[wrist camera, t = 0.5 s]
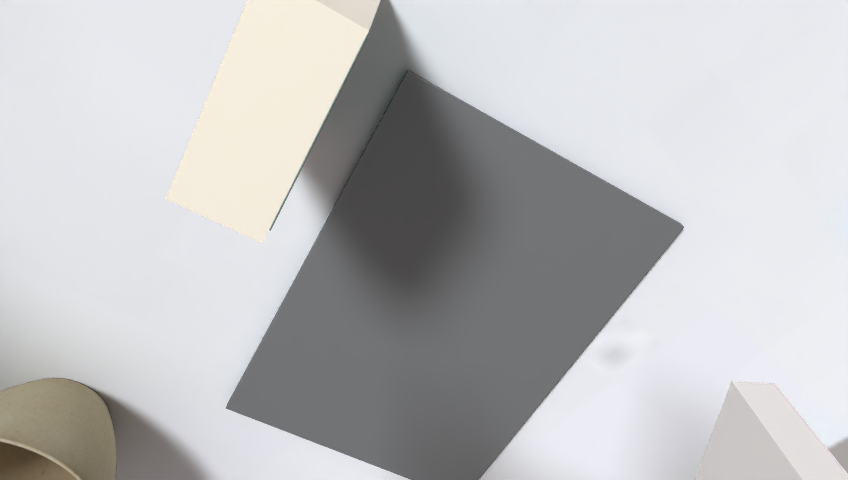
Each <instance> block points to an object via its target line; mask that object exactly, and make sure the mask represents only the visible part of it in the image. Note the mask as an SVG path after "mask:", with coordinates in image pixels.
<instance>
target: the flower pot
mask: <svg viewBox="0 0 848 480" xmlns="http://www.w3.org/2000/svg"><path fill="white" fill-rule="evenodd" d="M0 480H116V441H115V434H114V428H113V424H112V420H111V416H110V413H109V410H108V408H107V406H106V404H105V402H104V401H103V400H102V399H101V397H100V396H99V395H98V394H97V393H95V392H94V391H93V390H92V389H90V388H88V387H87V386H85V385H83V384H81V383H78V382H75V381H72V380H68V379H63V378H47V379H41V380H37V381H32V382H28V383H25V384H21V385H18V386H14V387H12V388H9V389H6V390H3V391H1V392H0Z"/></svg>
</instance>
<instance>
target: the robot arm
mask: <svg viewBox="0 0 848 480" xmlns="http://www.w3.org/2000/svg"><path fill="white" fill-rule="evenodd" d="M695 480H848V474H847V473H846V471H845V470H844V469H843V468H842V466H841V465H840V464H839V463H838V462H837V460H836V459H835V458H834V457H833V456H832V454H831V453H830V452H829V450H828V449H827V448H826V447H825V445H824V444H823V443H822V442H821V440H820V439H819V438H818V437H817V435H816V434H815V433H814V432H813V430H812V429H811V428H810V427H809V425H808V424H807V423H806V422H805V421H804V419H803V418H802V417H801V416H800V414H799V413H798V412H797V411H796V409H795V408H794V407H793V406H792V404H791V403H790V402H789V401H788V399H787V398H786V397H785V396H784V394H783V393H782V392H781V391H780V390H779V388H778V387H777V386H776V385H775V384H772V383H753V382H734V381H732V382H731V385H730V388H729V390H728V393H727V395H726V398H725V401H724V403H723V406H722V409H721V411H720V414H719V417H718V419H717V422H716V424H715V427H714V430H713V432H712V435H711V438H710V440H709V443H708V445H707V448H706V451H705V453H704V456H703V459H702V461H701V464H700V466H699V469H698V472H697V474H696V477H695Z"/></svg>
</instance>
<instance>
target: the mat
mask: <svg viewBox="0 0 848 480" xmlns="http://www.w3.org/2000/svg"><path fill="white" fill-rule="evenodd" d="M683 228H684V226H683V225H682V224H681V223H679V222H677V221H675V220H673V219H672V218H670V217H668V216H666V215H665V214H663V213H661V212H659V211H657V210H656V209H654V208H652V207H650V206H649V205H647V204H645V203H643V202H641V201H640V200H638V199H636V198H634V197H633V196H631V195H629V194H627V193H625V192H624V191H622V190H620V189H618V188H617V187H615V186H613V185H611V184H609V183H608V182H606V181H604V180H602V179H601V178H599V177H597V176H595V175H593V174H592V173H590V172H588V171H586V170H585V169H583V168H581V167H579V166H577V165H576V164H574V163H572V162H570V161H569V160H567V159H565V158H563V157H561V156H560V155H558V154H556V153H554V152H553V151H551V150H549V149H547V148H545V147H544V146H542V145H540V144H538V143H536V142H535V141H533V140H531V139H529V138H528V137H526V136H524V135H522V134H520V133H519V132H517V131H515V130H513V129H512V128H510V127H508V126H506V125H504V124H503V123H501V122H499V121H497V120H496V119H494V118H492V117H490V116H488V115H487V114H485V113H483V112H481V111H480V110H478V109H476V108H474V107H472V106H471V105H469V104H467V103H465V102H464V101H462V100H460V99H458V98H456V97H455V96H453V95H451V94H449V93H448V92H446V91H444V90H442V89H440V88H439V87H437V86H435V85H433V84H432V83H430V82H428V81H426V80H424V79H423V78H421V77H419V76H417V75H416V74H414V73H412V72H410V71H407V73H406V74H405V76H404V78H403V80H402V82H401V84H400V85H399V87H398V89H397V91H396V93H395V95H394V97H393V98H392V100H391V102H390V104H389V106H388V108H387V110H386V111H385V113H384V115H383V117H382V119H381V121H380V122H379V124H378V126H377V128H376V130H375V132H374V134H373V135H372V137H371V139H370V141H369V143H368V145H367V147H366V148H365V150H364V152H363V154H362V156H361V158H360V159H359V161H358V163H357V165H356V167H355V169H354V171H353V172H352V174H351V176H350V178H349V180H348V182H347V184H346V185H345V187H344V189H343V191H342V193H341V195H340V197H339V198H338V200H337V202H336V204H335V206H334V208H333V209H332V211H331V213H330V215H329V217H328V219H327V221H326V222H325V224H324V226H323V228H322V230H321V232H320V234H319V235H318V237H317V239H316V241H315V243H314V245H313V246H312V248H311V250H310V252H309V254H308V256H307V258H306V259H305V261H304V263H303V265H302V267H301V269H300V271H299V272H298V274H297V276H296V278H295V280H294V282H293V283H292V285H291V287H290V289H289V291H288V293H287V295H286V296H285V298H284V300H283V302H282V304H281V306H280V308H279V309H278V311H277V313H276V315H275V317H274V319H273V320H272V322H271V324H270V326H269V328H268V330H267V332H266V333H265V335H264V337H263V339H262V341H261V343H260V345H259V346H258V348H257V350H256V352H255V354H254V356H253V357H252V359H251V361H250V363H249V365H248V367H247V369H246V370H245V372H244V374H243V376H242V378H241V380H240V382H239V383H238V385H237V387H236V389H235V391H234V393H233V394H232V396H231V398H230V400H229V402H228V404H227V406H226V409H229V410H232V411H234V412H237V413H239V414H242V415H245V416H247V417H250V418H252V419H255V420H258V421H260V422H263V423H265V424H268V425H271V426H273V427H276V428H278V429H281V430H284V431H286V432H289V433H291V434H294V435H297V436H299V437H302V438H304V439H307V440H310V441H312V442H315V443H317V444H320V445H323V446H325V447H328V448H330V449H333V450H336V451H338V452H341V453H343V454H346V455H349V456H351V457H354V458H356V459H359V460H362V461H364V462H367V463H369V464H372V465H375V466H377V467H380V468H382V469H385V470H388V471H390V472H393V473H395V474H398V475H401V476H403V477H406V478H408V479H411V480H478V479H479V478H480V477H481V475H482V474H483V473H484V472H485V471H486V469H487V468H488V467H489V466H490V464H491V463H492V462H493V461H494V459H495V458H496V457H497V456H498V455H499V453H500V452H501V451H502V450H503V448H504V447H505V446H506V445H507V444H508V442H509V441H510V440H511V439H512V437H513V436H514V435H515V434H516V433H517V431H518V430H519V429H520V428H521V426H522V425H523V424H524V423H525V421H526V420H527V419H528V418H529V417H530V415H531V414H532V413H533V412H534V410H535V409H536V408H537V407H538V406H539V404H540V403H541V402H542V401H543V399H544V398H545V397H546V396H547V395H548V393H549V392H550V391H551V390H552V388H553V387H554V386H555V385H556V383H557V382H558V381H559V380H560V379H561V377H562V376H563V375H564V374H565V372H566V371H567V370H568V369H569V368H570V366H571V365H572V364H573V363H574V361H575V360H576V359H577V358H578V357H579V355H580V354H581V353H582V352H583V350H584V349H585V348H586V347H587V345H588V344H589V343H590V342H591V341H592V339H593V338H594V337H595V336H596V334H597V333H598V332H599V331H600V330H601V328H602V327H603V326H604V325H605V323H606V322H607V321H608V320H609V319H610V317H611V316H612V315H613V314H614V312H615V311H616V310H617V309H618V307H619V306H620V305H621V304H622V303H623V301H624V300H625V299H626V298H627V296H628V295H629V294H630V293H631V292H632V290H633V289H634V288H635V287H636V285H637V284H638V283H639V282H640V281H641V279H642V278H643V277H644V276H645V274H646V273H647V272H648V271H649V269H650V268H651V267H652V266H653V265H654V263H655V262H656V261H657V260H658V258H659V257H660V256H661V255H662V254H663V252H664V251H665V250H666V249H667V247H668V246H669V245H670V244H671V243H672V241H673V240H674V239H675V238H676V236H677V235H678V234H679V233H680V231H681V230H682V229H683Z"/></svg>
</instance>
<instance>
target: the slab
mask: <svg viewBox="0 0 848 480" xmlns="http://www.w3.org/2000/svg"><path fill="white" fill-rule="evenodd" d="M380 2H381V0H247V2H246V4H245V7H244V9H243V11H242V14H241V16H240V19H239V21H238V24H237V26H236V28H235V31H234V33H233V36H232V38H231V41H230V43H229V45H228V48H227V50H226V53H225V55H224V58H223V60H222V62H221V65H220V67H219V70H218V72H217V75H216V77H215V79H214V82H213V84H212V87H211V89H210V92H209V94H208V97H207V99H206V101H205V104H204V106H203V109H202V111H201V114H200V116H199V118H198V121H197V123H196V126H195V128H194V131H193V133H192V135H191V138H190V140H189V143H188V145H187V148H186V150H185V152H184V155H183V157H182V160H181V162H180V165H179V167H178V169H177V172H176V174H175V177H174V179H173V182H172V184H171V186H170V189H169V191H168V194H167V196H166V200H168V201H171V202H173V203H175V204H177V205H179V206H181V207H184V208H186V209H188V210H190V211H192V212H194V213H197V214H199V215H201V216H203V217H205V218H208V219H210V220H212V221H214V222H216V223H218V224H221V225H223V226H225V227H227V228H229V229H232V230H234V231H236V232H238V233H240V234H242V235H245V236H247V237H249V238H251V239H253V240H255V241H258V242H260V243H263V241H264V239H265V237H266V235H267V233H268V231H269V230H270V231H271V229H272V227H273V225H274V223H275V221H276V219H277V217H278V215H279V213H280V211H281V209H282V207H283V205H284V203H285V201H286V199H287V197H288V195H289V193H290V191H291V189H292V187H293V185H294V183H295V181H296V179H297V177H298V175H299V173H300V171H301V169H302V167H303V165H304V163H305V161H306V159H307V157H308V155H309V153H310V151H311V149H312V147H313V145H314V143H315V141H316V139H317V137H318V135H319V133H320V131H321V129H322V127H323V125H324V123H325V121H326V119H327V117H328V115H329V113H330V111H331V109H332V107H333V105H334V103H335V101H336V99H337V97H338V95H339V93H340V91H341V89H342V87H343V85H344V83H345V81H346V79H347V77H348V75H349V73H350V71H351V69H352V67H353V65H354V63H355V61H356V59H357V57H358V55H359V53H360V51H361V49H362V47H363V45H364V43H365V41H366V39H367V37H368V34H369V31H370V28H371V26H372V23H373V20H374V18H375V15H376V12H377V10H378V7H379V4H380Z"/></svg>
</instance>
